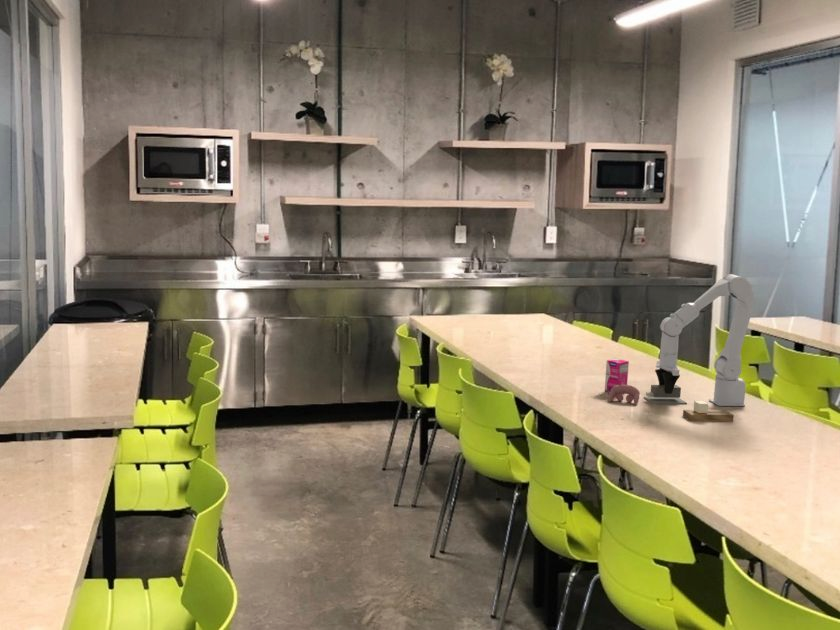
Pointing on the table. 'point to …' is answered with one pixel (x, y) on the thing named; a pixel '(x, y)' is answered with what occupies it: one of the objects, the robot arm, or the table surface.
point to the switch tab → (700, 406)
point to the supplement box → (616, 373)
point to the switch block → (708, 415)
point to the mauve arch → (624, 389)
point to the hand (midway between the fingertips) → (665, 391)
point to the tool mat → (665, 400)
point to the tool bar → (663, 392)
